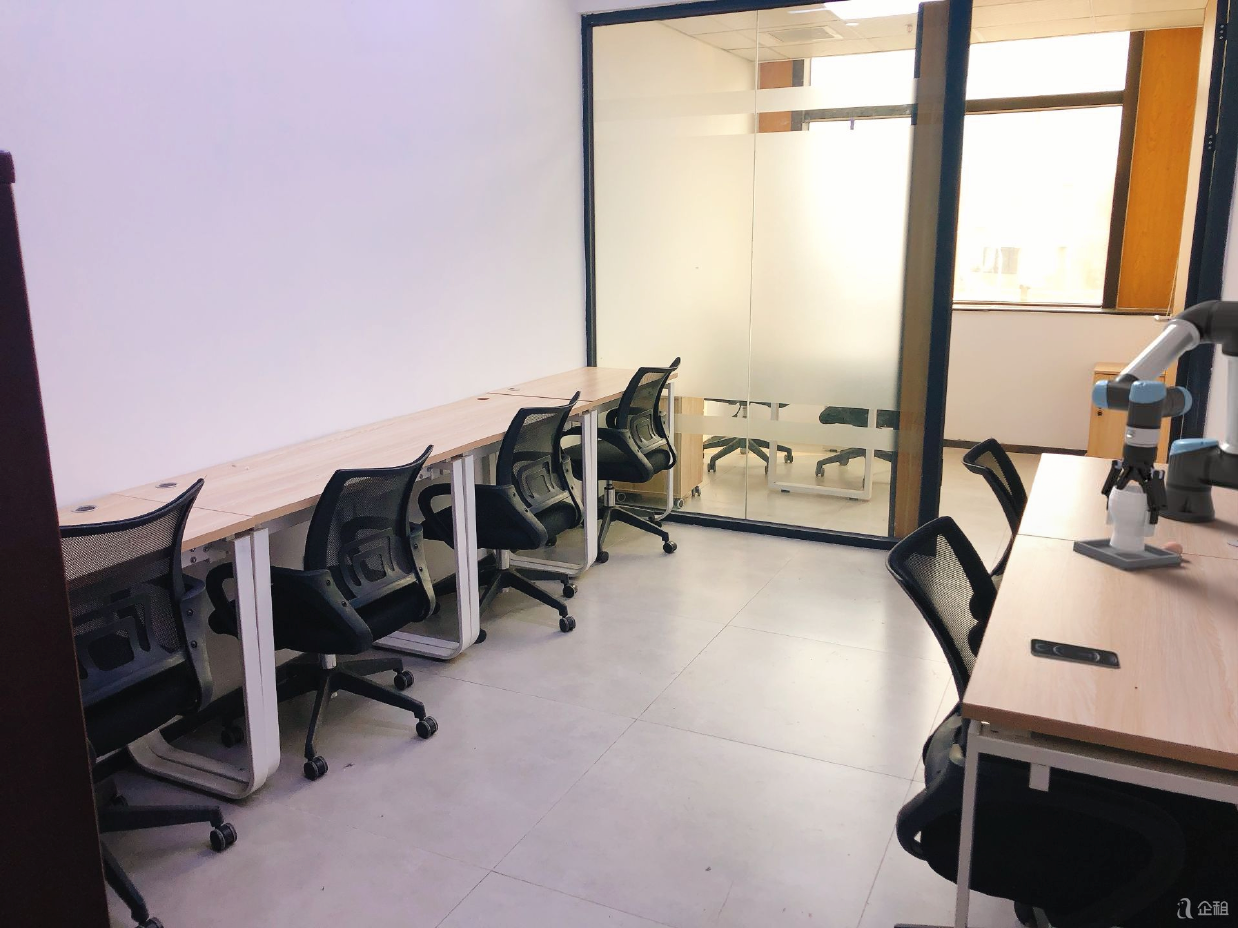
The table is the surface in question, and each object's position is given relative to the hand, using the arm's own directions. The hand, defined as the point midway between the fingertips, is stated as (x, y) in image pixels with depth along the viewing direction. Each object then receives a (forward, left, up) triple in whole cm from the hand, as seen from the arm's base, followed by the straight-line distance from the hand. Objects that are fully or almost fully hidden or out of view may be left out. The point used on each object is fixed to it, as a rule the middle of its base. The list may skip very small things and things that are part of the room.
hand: (1129, 530), depth 232 cm
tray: (0, 0, -7) cm, 7 cm away
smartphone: (+58, +44, -8) cm, 74 cm away
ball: (-12, +3, -7) cm, 14 cm away
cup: (0, 0, -5) cm, 5 cm away
